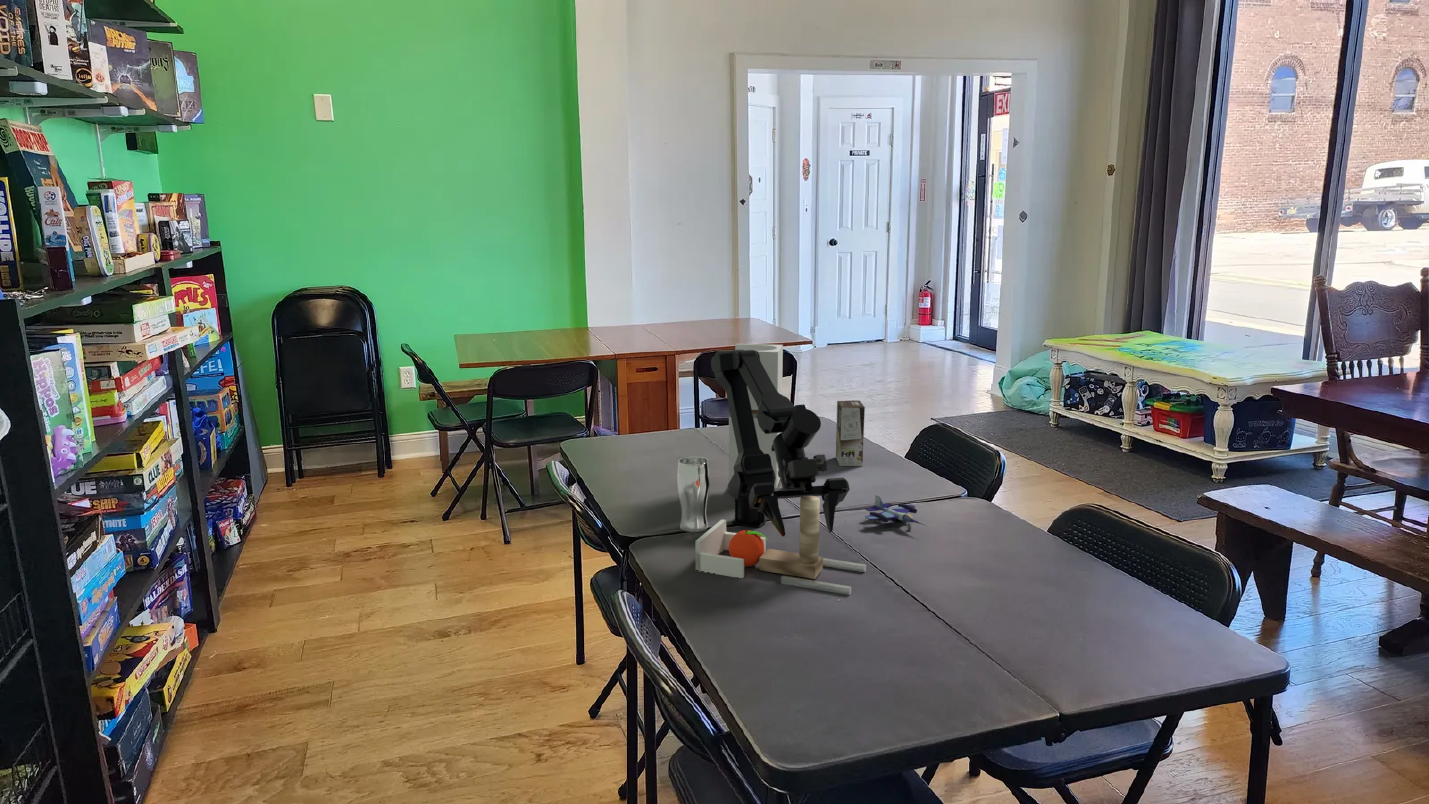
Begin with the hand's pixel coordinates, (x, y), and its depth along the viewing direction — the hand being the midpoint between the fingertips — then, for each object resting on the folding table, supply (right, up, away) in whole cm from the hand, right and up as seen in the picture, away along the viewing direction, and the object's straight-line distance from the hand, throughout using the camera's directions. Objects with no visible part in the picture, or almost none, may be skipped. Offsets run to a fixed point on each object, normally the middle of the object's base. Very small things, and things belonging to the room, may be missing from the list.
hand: (807, 533), depth 171 cm
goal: (-14, -7, +8) cm, 17 cm away
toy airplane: (+22, -3, +28) cm, 36 cm away
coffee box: (+19, +8, +76) cm, 79 cm away
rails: (+3, -8, +1) cm, 9 cm away
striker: (-3, -7, +3) cm, 8 cm away
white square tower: (-7, +3, +53) cm, 54 cm away
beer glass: (-22, -3, +27) cm, 35 cm away
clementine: (-11, -7, +7) cm, 15 cm away
